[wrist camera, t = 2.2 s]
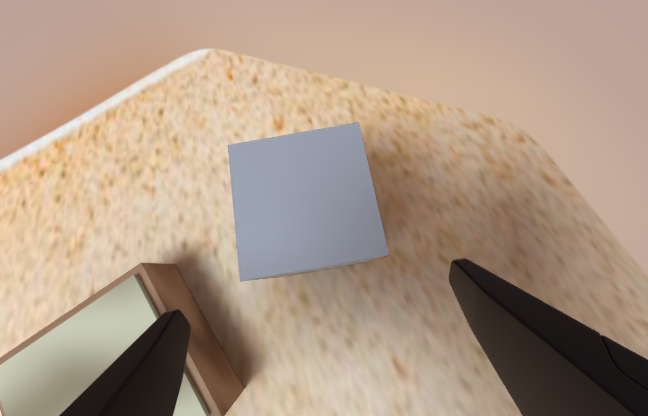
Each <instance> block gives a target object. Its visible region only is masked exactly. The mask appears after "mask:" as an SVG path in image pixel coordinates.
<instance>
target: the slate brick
mask: <svg viewBox="0 0 648 416" xmlns="http://www.w3.org/2000/svg"><path fill="white" fill-rule="evenodd" d="M228 152H229V163H230V174H231V185H232V196H233V207H234V218H235V229H236V240H237V251H238V262H239V273H240V281H248V280H257V279H266V278H275V277H284V276H291V275H297V274H303V273H308V272H314V271H320V270H325V269H331V268H336V267H342V266H348V265H353V264H359V263H363V262H366V261H370V260H373V259H377V258H380V257H384V256H387V255H389V252H388V248H387V243H386V239H385V234H384V230H383V226H382V221H381V217H380V213H379V208H378V204H377V200H376V195H375V191H374V187H373V182H372V178H371V174H370V169H369V165H368V161H367V156H366V152H365V147H364V143H363V139H362V134H361V130H360V126H359V122H358V123H352V124H347V125H341V126H335V127H329V128H324V129H318V130H312V131H306V132H301V133H295V134H289V135H283V136H278V137H272V138H266V139H260V140H255V141H249V142H243V143H237V144H232V145H228Z"/></svg>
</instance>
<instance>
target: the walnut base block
mask: <svg viewBox="0 0 648 416" xmlns="http://www.w3.org/2000/svg"><path fill="white" fill-rule="evenodd" d="M174 309H180V310H181V311H182V312H183V314H184V315H185V317H186V318H187V320H188V321H189V323H190V325H191V334H190V340H189V345H188V351H187V357H186V363H185V369H184V375H183V380H182V384H181V388H180V392H179V395H178V399H177V403H176V406H175V410H174V414H173V416H224V415H225V414H226V413H227V411H228V410H229V409H230V407H231V406H232V405H233V403H234V402H235V401H236V399H237V398H238V397H239V395H240V394H241V393H242V391H243V390H244V387H243V386H242V384H241V382H240V380H239V378H238V377H237V375H236V373H235V371H234V370H233V368H232V366H231V364H230V362H229V361H228V359H227V357H226V355H225V353H224V352H223V350H222V348H221V346H220V344H219V343H218V341H217V339H216V337H215V336H214V334H213V332H212V330H211V328H210V327H209V325H208V323H207V321H206V319H205V318H204V316H203V314H202V312H201V310H200V309H199V307H198V305H197V303H196V301H195V300H194V298H193V296H192V294H191V293H190V291H189V289H188V287H187V285H186V284H185V282H184V280H183V278H182V276H181V275H180V273H179V271H178V269H177V267H176V266H175V264H156V263H140V264H139V265H137V266H136V267H134V268H133V269H131V270H130V271H128V272H127V273H125V274H124V275H122V276H121V277H119V278H118V279H116V280H115V281H113V282H112V283H110V284H109V285H107V286H106V287H104V288H103V289H102V290H100V291H99V292H97V293H96V294H94V295H93V296H91V297H90V298H88V299H87V300H85V301H84V302H82V303H81V304H79V305H78V306H76V307H75V308H73V309H72V310H70V311H69V312H67V313H66V314H64V315H63V316H61V317H60V318H58V319H57V320H55V321H54V322H53V323H51V324H50V325H48V326H47V327H45V328H44V329H42V330H41V331H39V332H38V333H36V334H35V335H33V336H32V337H30V338H29V339H27V340H26V341H24V342H23V343H21V344H20V345H18V346H17V347H15V348H14V349H12V350H11V351H9V352H8V353H6V354H5V355H4V356H2V357H1V358H0V410H1V413H2V416H59V415H60V414H61V413H62V412H63V411H64V410H65V409H66V408H67V407H68V406H69V405H70V404H71V403H72V402H73V401H74V400H75V399H76V398H77V397H78V396H79V395H80V394H81V393H82V392H84V391H85V390H86V389H87V388H88V387H89V386H90V385H91V384H92V383H93V382H94V381H95V380H96V379H97V378H98V377H99V376H100V375H101V374H102V373H103V372H104V371H105V370H106V369H107V368H108V367H109V366H110V365H111V364H112V363H113V362H114V361H115V360H116V359H117V358H118V357H119V356H120V355H121V354H122V353H123V352H124V351H125V350H126V349H127V348H128V347H129V346H130V345H131V344H132V343H133V342H134V341H135V340H136V339H137V338H138V337H140V336H141V335H142V334H143V333H144V332H145V331H146V330H147V329H148V328H149V327H150V326H151V325H152V324H153V323H154V322H155V321H156V320H157V319H158V318H159V317H160V316H161V315H162V314H163V313H164V312H166V311H168V310H174Z"/></svg>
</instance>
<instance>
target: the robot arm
mask: <svg viewBox="0 0 648 416" xmlns="http://www.w3.org/2000/svg"><path fill="white" fill-rule="evenodd" d="M449 282H450V285H451V287H452V289H453V291H454V294H455V296H456V298H457V300H458V302H459V304H460V306H461V309H462V311H463V313H464V315H465V317H466V319H467V322H468V324H469V326H470V328H471V329H472V331H473V333H474V335H475V337H476V338H477V340H478V342H479V343H480V345H481V347H482V348H483V350H484V352H485V353H486V355H487V357H488V358H489V360H490V362H491V363H492V365H493V367H494V368H495V370H496V372H497V374H498V375H499V377H500V379H501V380H502V382H503V384H504V385H505V387H506V389H507V390H508V392H509V394H510V395H511V397H512V399H513V400H514V402H515V404H516V405H517V407H518V409H519V411H520V412H521V414H522V416H648V360H647V359H646V358H644V357H642V356H640V355H638V354H636V353H634V352H633V351H631V350H629V349H627V348H625V347H623V346H622V345H620V344H618V343H616V342H614V341H613V340H611V339H609V338H607V337H606V336H603V335H600V334H599V333H598V332H596V331H595V330H593V329H591V328H589V327H588V326H586V325H584V324H582V323H580V322H579V321H577V320H575V319H573V318H571V317H570V316H568V315H566V314H564V313H563V312H561V311H559V310H557V309H555V308H554V307H552V306H550V305H548V304H546V303H545V302H543V301H541V300H539V299H538V298H536V297H534V296H532V295H530V294H529V293H527V292H525V291H523V290H521V289H520V288H518V287H516V286H514V285H513V284H511V283H509V282H507V281H505V280H504V279H502V278H500V277H498V276H496V275H495V274H493V273H491V272H489V271H488V270H486V269H484V268H482V267H480V266H479V265H477V264H475V263H473V262H472V261H470V260H468V259H465V258H462V259H456V260H453V261H452V262H451V267H450V274H449ZM190 334H191V325H190V323H189V321H188V320H187V318H186V317H185V315H184V314H183V312H182V311H181V310H180V309H174V310H168V311H166V312H164V313H163V314H162V315H161V316H160V317H159V318H158V319H157V320H156V321H155V322H154V323H153V324H152V325H151V326H150V327H149V328H148V329H147V330H146V331H145V332H144V333H143V334H142V335H141V336H140V337H138V338H137V339H136V340H135V341H134V342H133V343H132V344H131V345H130V346H129V347H128V348H127V349H126V350H125V351H124V352H123V353H122V354H121V355H120V356H119V357H118V358H117V359H116V360H115V361H114V362H113V363H112V364H111V365H110V366H109V367H108V368H107V369H106V370H105V371H104V372H103V373H102V374H101V375H100V376H99V377H98V378H97V379H96V380H95V381H94V382H93V383H92V384H91V385H90V386H89V387H88V388H87V389H86V390H85V391H84V392H82V393H81V394H80V395H79V396H78V397H77V398H76V399H75V400H74V401H73V402H72V403H71V404H70V405H69V406H68V407H67V408H66V409H65V410H64V411H63V412H62V413H61V414H60V415H59V416H173V414H174V410H175V406H176V403H177V399H178V395H179V392H180V388H181V384H182V380H183V375H184V369H185V363H186V357H187V351H188V345H189V340H190Z"/></svg>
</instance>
